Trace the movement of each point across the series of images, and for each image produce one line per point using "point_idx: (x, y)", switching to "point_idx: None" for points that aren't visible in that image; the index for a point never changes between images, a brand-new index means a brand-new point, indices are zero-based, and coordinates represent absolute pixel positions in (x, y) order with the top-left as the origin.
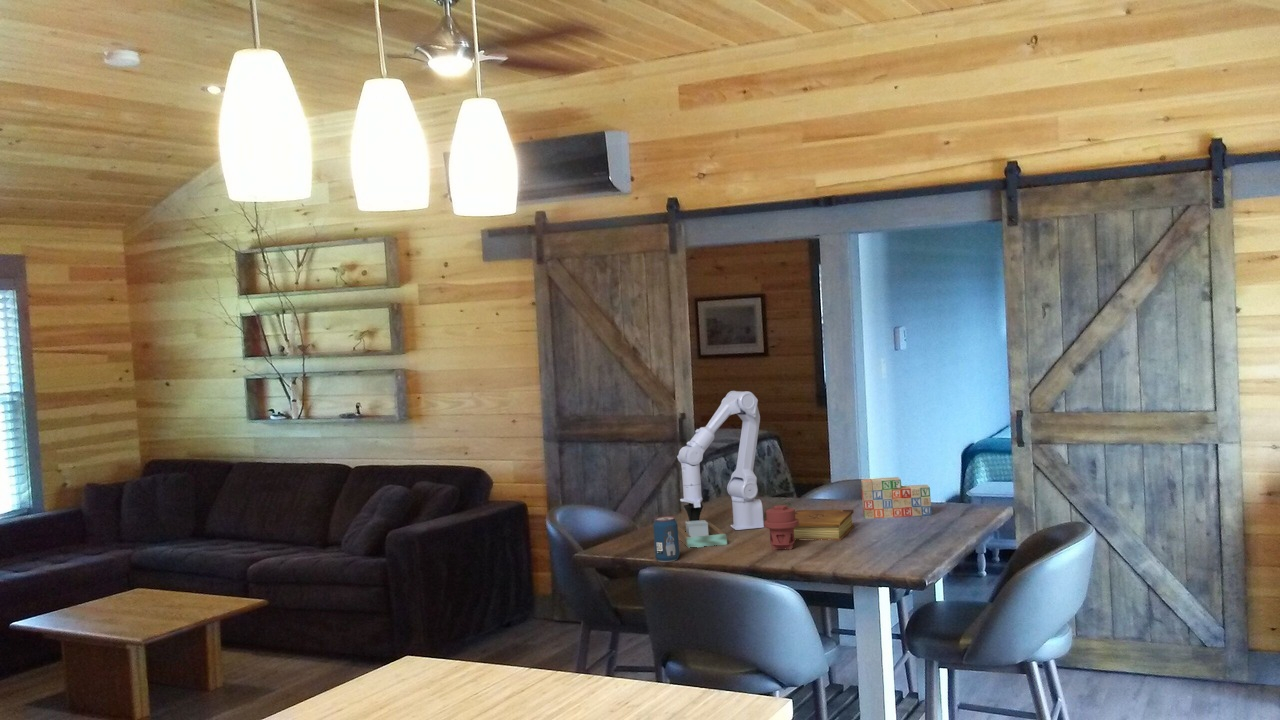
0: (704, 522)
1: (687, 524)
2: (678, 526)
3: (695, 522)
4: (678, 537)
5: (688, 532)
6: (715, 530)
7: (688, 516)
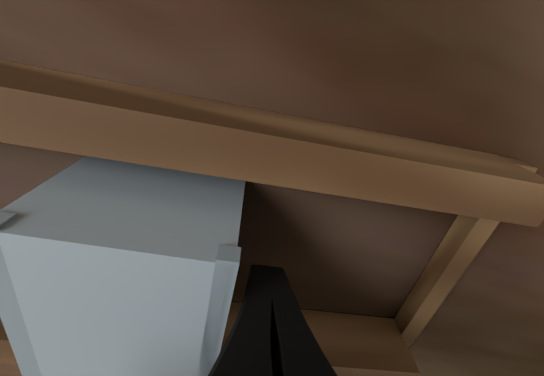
0: (61, 364)
1: (85, 234)
2: (364, 191)
3: (102, 316)
4: (194, 100)
5: (95, 184)
6: (1, 338)
7: (300, 350)
